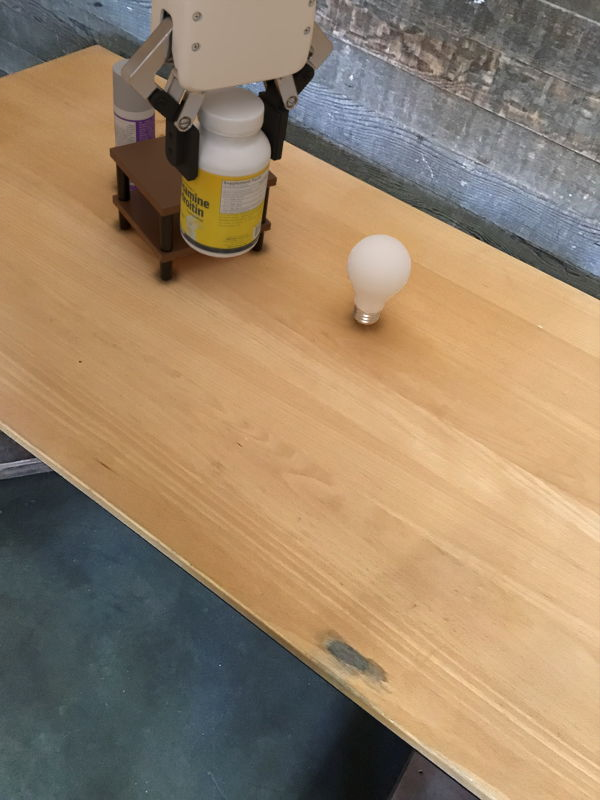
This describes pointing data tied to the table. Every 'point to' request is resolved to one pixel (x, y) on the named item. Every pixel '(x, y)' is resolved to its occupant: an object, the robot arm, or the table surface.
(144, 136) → the container
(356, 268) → the light bulb
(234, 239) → the pill bottle
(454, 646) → the table surface
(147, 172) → the stand
